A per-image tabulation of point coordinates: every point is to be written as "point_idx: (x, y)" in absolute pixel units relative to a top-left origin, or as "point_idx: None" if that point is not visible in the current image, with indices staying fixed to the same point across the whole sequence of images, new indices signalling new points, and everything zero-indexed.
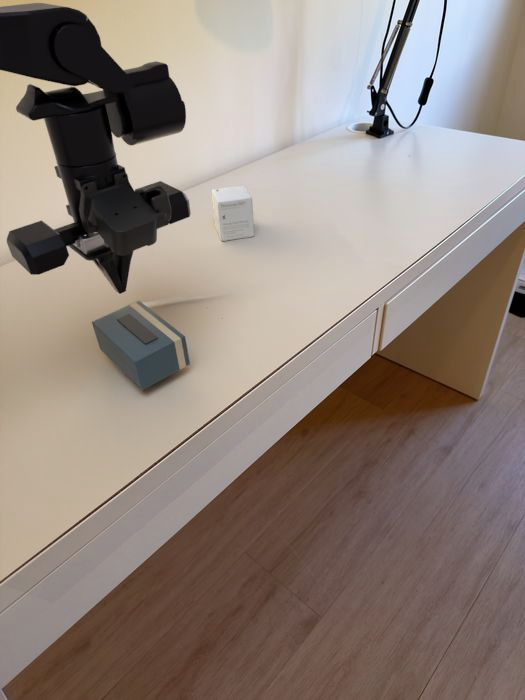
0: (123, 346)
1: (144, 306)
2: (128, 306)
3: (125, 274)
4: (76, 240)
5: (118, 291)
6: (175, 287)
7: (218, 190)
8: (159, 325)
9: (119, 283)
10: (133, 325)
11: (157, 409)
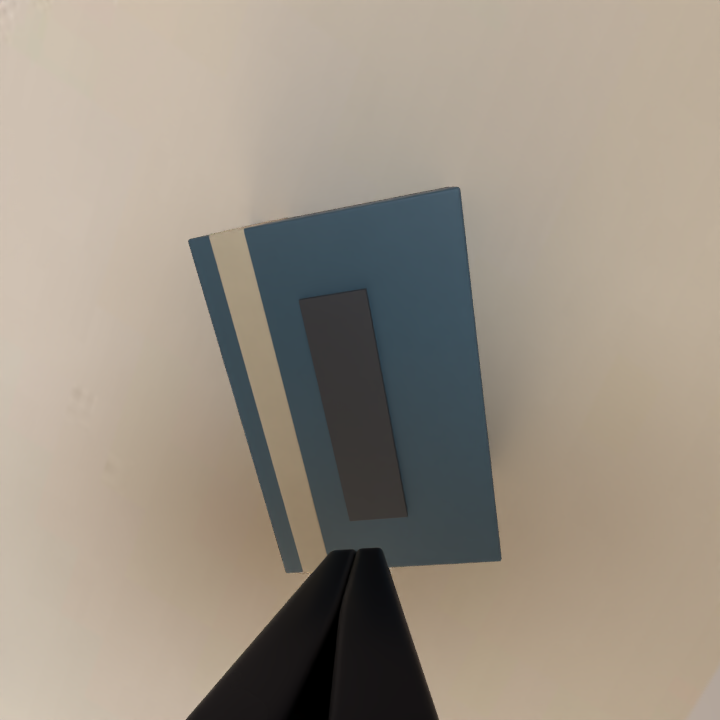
0: (456, 334)
1: (279, 528)
2: None
3: (263, 668)
4: None
5: (385, 561)
6: (169, 605)
7: None
8: (265, 380)
9: (355, 610)
10: (363, 441)
11: (444, 44)
